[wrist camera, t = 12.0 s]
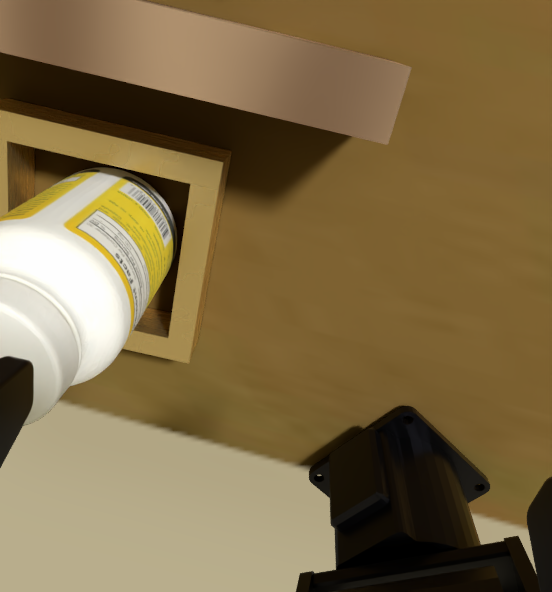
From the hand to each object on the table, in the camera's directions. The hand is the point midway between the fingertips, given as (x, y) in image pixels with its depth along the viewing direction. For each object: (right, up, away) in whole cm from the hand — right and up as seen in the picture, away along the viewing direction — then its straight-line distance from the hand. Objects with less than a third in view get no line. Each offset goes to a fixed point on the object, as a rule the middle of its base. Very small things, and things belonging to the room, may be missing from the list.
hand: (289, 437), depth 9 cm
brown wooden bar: (-5, +12, +9) cm, 16 cm away
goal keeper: (-7, +5, +13) cm, 15 cm away
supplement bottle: (-7, +5, +13) cm, 15 cm away
